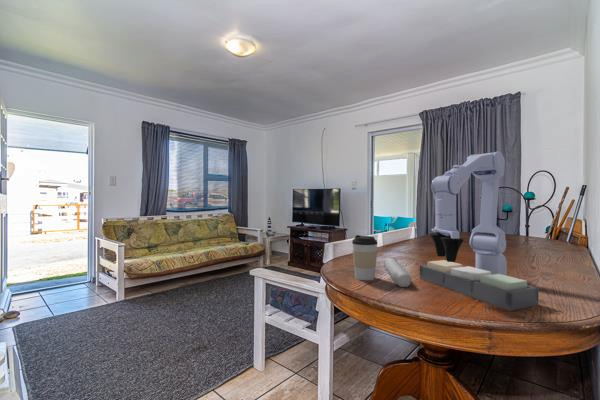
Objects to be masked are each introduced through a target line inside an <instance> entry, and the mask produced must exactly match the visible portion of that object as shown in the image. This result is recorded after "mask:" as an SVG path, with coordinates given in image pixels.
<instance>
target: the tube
mask: <svg viewBox="0 0 600 400" xmlns="http://www.w3.org/2000/svg"><path fill="white" fill-rule="evenodd" d="M383 267H384V268H385V269H386V270H387V272H388V273H389V275H390V277H391V278H392V280H393V281H394V283H395V284H396V285H397V286H399V288H408V287H409V286H410V285H411V282H412V277H411V276H410V274H409V273H407V270H405V268H404V267H403V266H402V265H401V264H400V262H399V261H398V259H396V258H395V257H394V256H386V258H385V259H384V261H383Z"/></svg>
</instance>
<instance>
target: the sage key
mask: <svg viewBox="0 0 600 400" xmlns="http://www.w3.org/2000/svg"><path fill="white" fill-rule="evenodd" d="M480 283H483V284H486V285H489V286H493V287H496V288H499V289H503V290H506V291H512V290H518V289H524V288H527V285H528V280H525V279H520V278H517V277H514V276H511V275H507V276H506V275H502V274H494V275H487V276H480Z"/></svg>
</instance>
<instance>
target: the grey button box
mask: <svg viewBox="0 0 600 400" xmlns="http://www.w3.org/2000/svg"><path fill="white" fill-rule="evenodd" d="M419 279H420V280H422V279H423V280H422V281H426V282H428V283H431V284H434V285H436V286H439V287H442V288H444V289H448V290H451V291H453V292H456V293H459V294H461V295H464V296H466V297H470V298H473V299H475V300H478V301H481V302H484V303H487V304H489V305H491V306H495V307H498V308H501V309H502V310H506V311H508V312H511V311H516V309H517V310H522V309H526V307H527V308H531V307H530V306H532V307H536V306H535V305H537V306H539V287H536V286H532V285H528V284H527V288H524V289H518V290H512V291H506V290H503V289H499V288H496V287H493V286H489V285H486V284H483V283H480V280H474V281H473V280H469V279H466V278H463V277H459V276H456V275H453V274H451V272H443V271H439V270H436V269H433V268H429V267H427V264H424V265H419ZM521 308H522V309H521Z"/></svg>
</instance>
